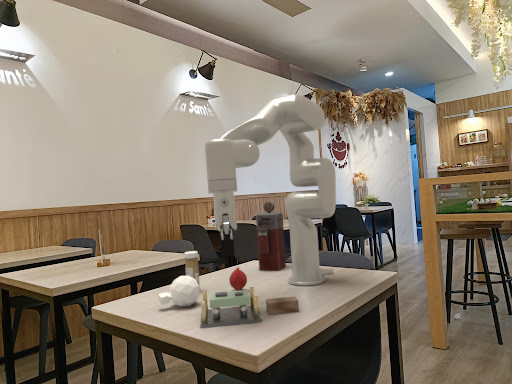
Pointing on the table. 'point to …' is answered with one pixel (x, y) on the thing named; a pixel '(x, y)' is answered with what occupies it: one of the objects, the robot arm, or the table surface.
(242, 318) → the chassis
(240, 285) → the onion
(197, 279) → the sprinkles bottle
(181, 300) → the perfume bottle
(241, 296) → the board
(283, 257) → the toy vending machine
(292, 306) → the walnut stand
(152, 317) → the table surface
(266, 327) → the table surface
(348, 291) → the table surface
